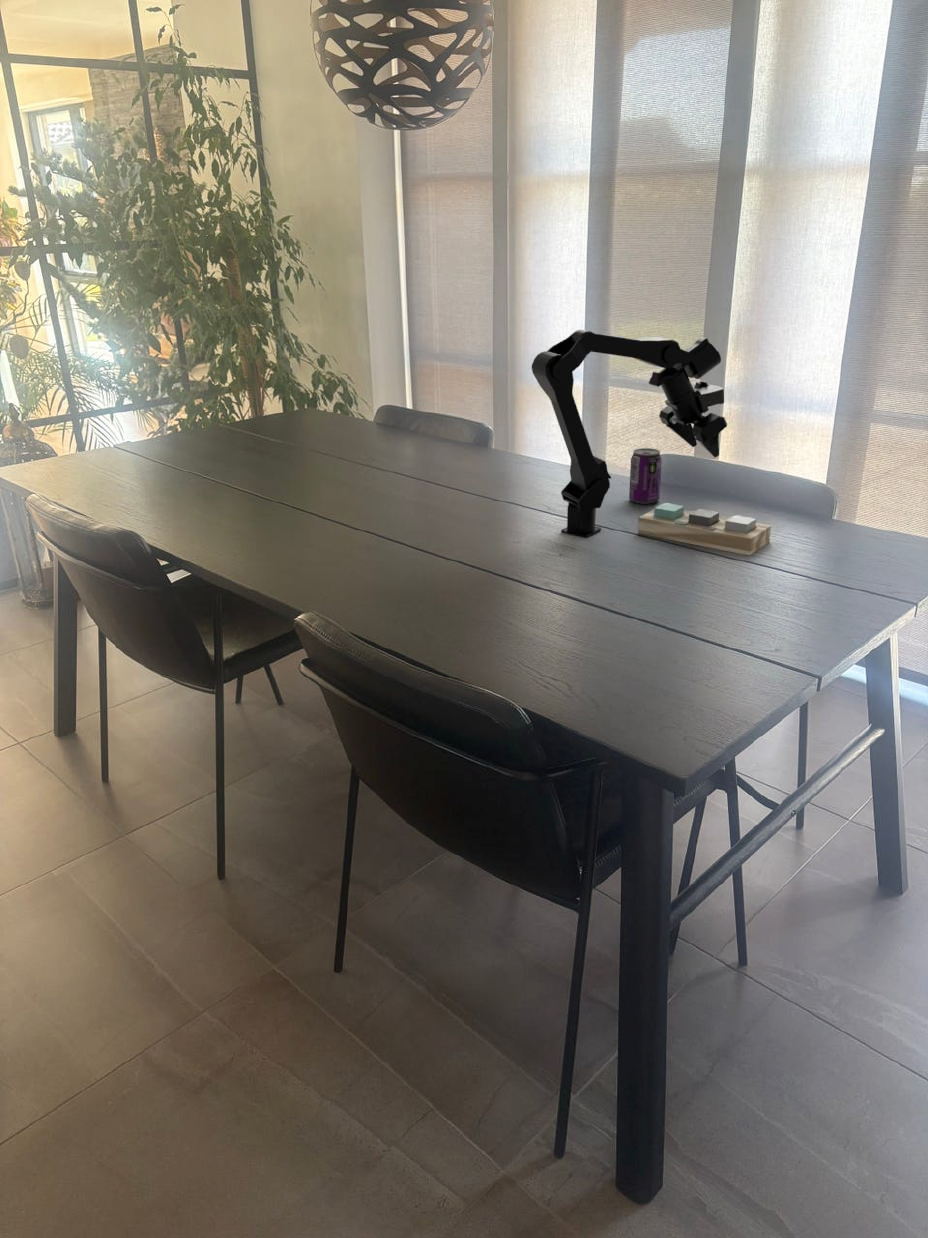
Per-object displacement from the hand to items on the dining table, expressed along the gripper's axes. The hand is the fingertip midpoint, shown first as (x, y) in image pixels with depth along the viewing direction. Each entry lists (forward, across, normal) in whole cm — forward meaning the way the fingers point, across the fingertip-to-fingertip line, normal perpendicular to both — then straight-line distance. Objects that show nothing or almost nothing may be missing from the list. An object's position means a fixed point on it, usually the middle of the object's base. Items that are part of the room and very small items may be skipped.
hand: (705, 450), depth 205 cm
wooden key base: (+8, -15, +14) cm, 22 cm away
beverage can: (+10, +14, +14) cm, 21 cm away
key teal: (+4, -8, +17) cm, 19 cm away
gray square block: (+6, -15, +13) cm, 21 cm away
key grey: (+8, -22, +9) cm, 25 cm away
